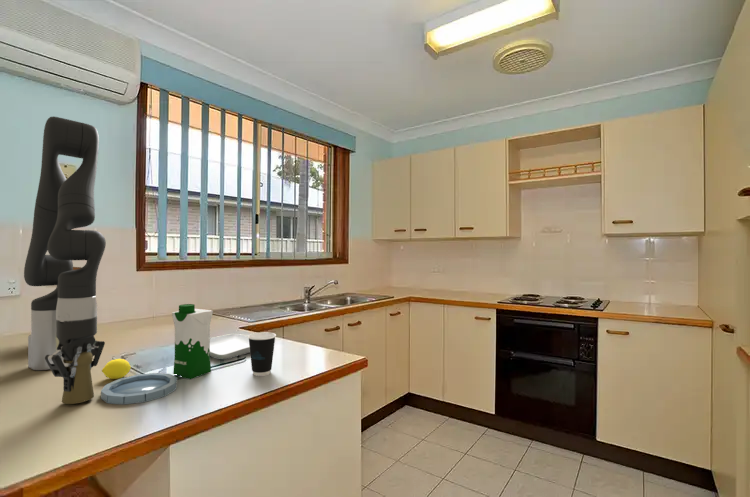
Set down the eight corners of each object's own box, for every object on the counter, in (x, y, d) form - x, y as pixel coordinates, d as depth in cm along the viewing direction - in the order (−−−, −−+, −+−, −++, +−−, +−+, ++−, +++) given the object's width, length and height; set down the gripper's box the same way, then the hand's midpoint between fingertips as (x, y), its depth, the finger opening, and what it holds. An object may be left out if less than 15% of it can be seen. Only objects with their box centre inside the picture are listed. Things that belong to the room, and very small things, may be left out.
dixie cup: (249, 379, 107) (249, 339, 107) (245, 370, 114) (246, 333, 114) (278, 375, 110) (278, 337, 110) (273, 367, 118) (273, 331, 117)
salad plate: (273, 349, 138) (273, 340, 138) (221, 365, 120) (221, 354, 120) (234, 340, 150) (234, 332, 150) (182, 353, 132) (182, 343, 132)
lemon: (125, 375, 111) (128, 356, 111) (133, 379, 107) (136, 359, 108) (96, 378, 105) (100, 358, 106) (103, 383, 102) (107, 362, 102)
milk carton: (167, 376, 109) (168, 305, 108) (195, 367, 117) (195, 300, 117) (190, 381, 105) (190, 307, 105) (216, 371, 113) (217, 303, 113)
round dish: (84, 401, 91) (84, 393, 91) (135, 378, 107) (135, 371, 107) (146, 406, 89) (147, 398, 89) (189, 381, 105) (189, 375, 105)
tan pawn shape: (75, 405, 87) (76, 356, 87) (54, 401, 88) (55, 354, 88) (100, 395, 93) (101, 349, 93) (80, 392, 94) (81, 347, 94)
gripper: (89, 310, 97) (88, 378, 98) (32, 321, 83) (32, 401, 84) (115, 311, 96) (115, 380, 97) (63, 323, 82) (62, 403, 83)
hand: (76, 389), depth 90 cm, fingers closed on tan pawn shape, 2 cm apart
